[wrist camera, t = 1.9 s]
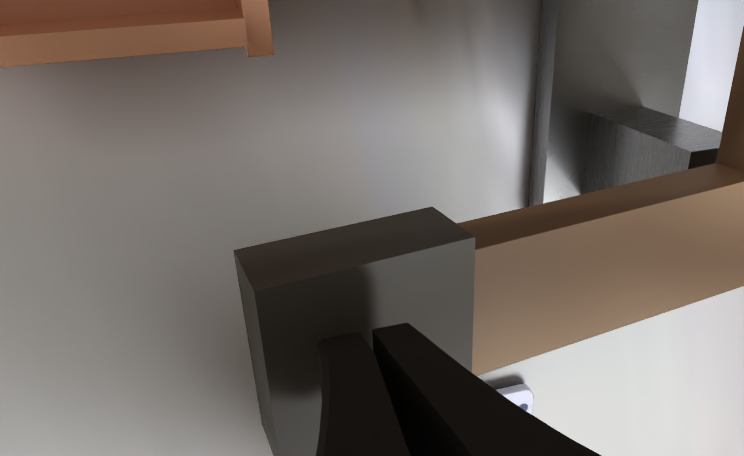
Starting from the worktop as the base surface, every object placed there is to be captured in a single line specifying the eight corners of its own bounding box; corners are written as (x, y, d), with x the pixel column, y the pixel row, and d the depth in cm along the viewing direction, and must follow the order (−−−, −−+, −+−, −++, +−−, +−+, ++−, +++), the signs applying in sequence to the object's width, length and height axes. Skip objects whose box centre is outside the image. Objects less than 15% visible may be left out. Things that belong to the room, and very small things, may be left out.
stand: (645, 199, 23) (777, 269, 18) (527, 217, 22) (630, 299, 17) (721, -295, 17) (960, -412, 12) (561, -301, 16) (743, -434, 10)
